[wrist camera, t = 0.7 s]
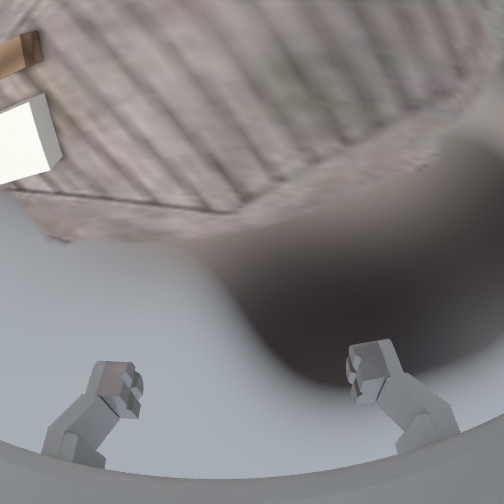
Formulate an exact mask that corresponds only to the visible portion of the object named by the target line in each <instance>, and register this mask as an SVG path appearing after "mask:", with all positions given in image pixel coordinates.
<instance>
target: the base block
mask: <svg viewBox="0 0 504 504" xmlns="http://www.w3.org/2000/svg"><path fill="white" fill-rule="evenodd" d="M62 156H63V155H62V152H61V149H60V146H59V142H58V139H57V136H56V133H55V129H54V126H53V122H52V119H51V115H50V112H49V108H48V104H47V100H46V96H45V93H42V94H39V95H37V96H34V97H32V98H29V99H27V100H24V101H22V102H20V103H17V104H15V105H13V106H10V107H8V108H6V109H4V110H2V111H0V183H1V184H4V183H7V182H10V181H14V180H17V179H20V178H24V177H27V176H31V175H35V174H38V173H42V172H46V171H50V170H51V169H52V168H53V167H54V166H55V164H56V163H57V162H58V161H59V160H60V159H61V158H62Z"/></svg>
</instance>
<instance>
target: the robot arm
mask: <svg viewBox="0 0 504 504" xmlns="http://www.w3.org/2000/svg"><path fill="white" fill-rule="evenodd" d="M349 354H350V356H349V357H348V358H347V362H346V372H347V377H348V381H349V382H350V383H351V384H352V385H353V386H352V389H351V393H352V397H353V400H354V404H355V406H356V405H362V404H367V403H373V402H376V404H377V405H378V406H379V407H380V408H381V409H382V410H383V411H384V412H385V413H386V414H387V415H388V416H389V417H390V418H391V419H392V420H393V421H394V422H395V423H396V424H397V425H398V426H399V427H400V428H402V430H403V431H404V433H403V434H402V436H401V437H400V438H399V440H398V441H397V442H396V443H395V445H396V449H397V453H398V455H394V456H391V457H387V458H383V459H379V460H375V461H371V462H366V463H362V464H357V465H353V466H348V467H343V468H337V469H332V470H326V471H320V472H313V473H306V474H297V475H289V476H279V477H267V478H250V479H188V478H171V477H157V476H149V475H140V474H132V473H125V472H118V471H112V470H106V469H105V461H106V459H105V457H104V456H103V455H101V454H100V453H99V452H97V451H96V450H97V448H98V447H99V446H100V444H101V443H102V442H103V440H104V439H105V438H106V436H107V435H108V434H109V433H110V431H111V430H112V429H113V427H114V426H115V425H116V424H117V422H118V421H119V418H128V419H138V417H139V412H140V407H141V404H140V403H139V401H138V400H139V398H140V397H141V396H142V395H143V389H144V388H143V380H142V377H141V375H140V374H139V373H138V372H136V371H135V366H134V364H133V363H132V362H111V361H97V362H96V363H95V364H94V367H93V370H92V374H91V377H90V380H89V383H88V386H87V390H86V393H85V394H82V395H81V396H80V397H79V398H78V399H77V400H76V401H75V402H74V403H73V404H72V405H71V406H70V407H69V408H68V409H67V410H66V411H65V412H64V413H63V414H62V415H61V416H60V417H59V418H58V419H57V420H56V421H54V422H53V423H52V424H51V426H49V427H48V430H47V434H46V437H45V441H44V445H43V449H42V452H41V454H39V453H36V452H33V451H29V450H26V449H23V448H20V447H17V446H14V445H12V444H9V443H6V442H3V441H1V440H0V504H504V414H502V415H500V416H498V417H496V418H494V419H491V420H489V421H487V422H485V423H483V424H481V425H478V426H476V427H474V428H472V429H469V430H467V431H464V432H462V433H460V431H459V427H458V425H457V423H456V420H455V417H454V414H453V412H452V409H451V406H450V404H448V403H447V402H446V401H444V400H443V399H441V398H440V397H439V396H438V395H436V394H435V393H433V392H432V391H431V390H430V389H428V388H427V387H426V386H424V385H423V384H421V383H420V382H419V381H418V380H416V379H415V378H413V377H412V376H411V375H409V374H408V373H403V370H402V367H401V365H400V362H399V360H398V357H397V355H396V352H395V350H394V347H393V345H392V343H391V341H390V340H389V339H385V340H381V341H373V342H367V343H362V344H356V345H351V346H350V348H349Z"/></svg>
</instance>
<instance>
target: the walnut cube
mask: <svg viewBox="0 0 504 504" xmlns="http://www.w3.org/2000/svg"><path fill="white" fill-rule="evenodd" d="M40 61H43V57H42V52H41V47H40V41H39V35H38V31H33V32H29V33H24V34H20V35H18V36H16V37H14V38H12V39H10V40H8V41H7V42H5V43H3V44H1V45H0V80H1V79H3V78H5V77H7V76H9V75H11V74H14V73H16V72H18V71H20V70H22V69H25V68H27V67H29V66H31V65H33V64H36V63H38V62H40Z"/></svg>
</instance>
